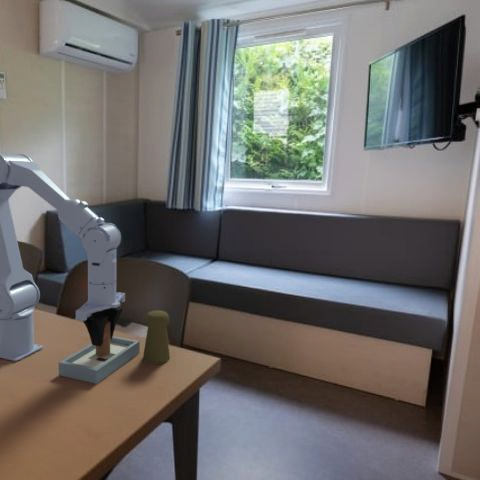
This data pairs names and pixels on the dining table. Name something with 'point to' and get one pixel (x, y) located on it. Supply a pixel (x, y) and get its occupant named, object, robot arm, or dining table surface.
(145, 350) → the cork
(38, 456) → the dining table surface
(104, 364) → the box
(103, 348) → the peg
